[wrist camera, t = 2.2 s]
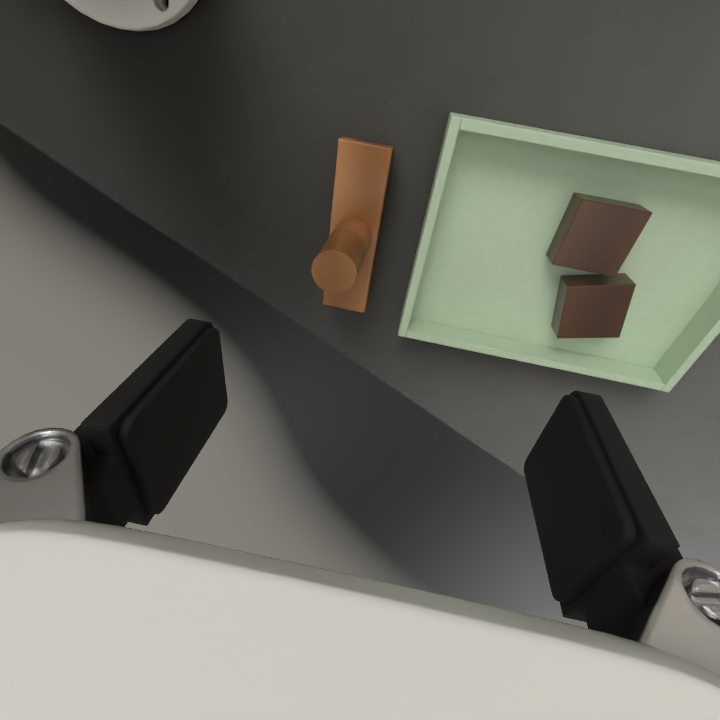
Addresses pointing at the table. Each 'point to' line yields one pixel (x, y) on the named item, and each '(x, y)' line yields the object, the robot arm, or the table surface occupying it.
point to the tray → (534, 235)
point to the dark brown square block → (597, 234)
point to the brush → (353, 223)
